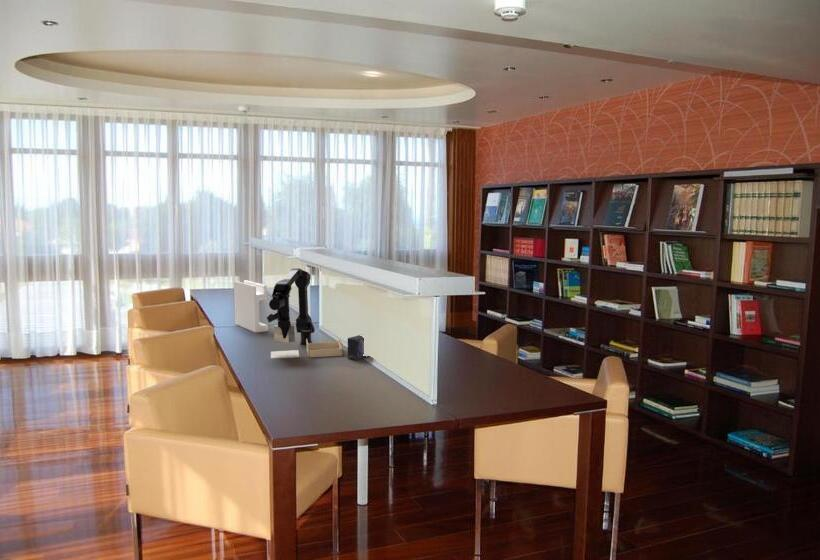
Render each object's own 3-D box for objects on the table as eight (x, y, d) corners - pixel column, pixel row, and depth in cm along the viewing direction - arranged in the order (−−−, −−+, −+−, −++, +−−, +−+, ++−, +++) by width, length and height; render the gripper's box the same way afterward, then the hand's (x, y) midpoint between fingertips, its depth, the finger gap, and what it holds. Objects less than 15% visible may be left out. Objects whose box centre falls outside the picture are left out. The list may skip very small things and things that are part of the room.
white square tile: (270, 352, 329) (270, 351, 329) (298, 351, 332) (298, 350, 332) (270, 358, 315) (270, 357, 315) (299, 357, 318) (299, 356, 318)
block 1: (235, 323, 410) (233, 280, 407) (247, 322, 414) (245, 279, 411) (255, 332, 381) (253, 286, 378) (268, 330, 386) (266, 285, 383)
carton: (306, 349, 334) (306, 338, 333) (339, 348, 338) (339, 336, 337) (308, 357, 317) (307, 345, 317) (343, 355, 321) (342, 343, 320)
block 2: (274, 340, 324) (273, 325, 323) (294, 339, 326) (293, 324, 325) (274, 342, 319) (274, 327, 318) (294, 341, 321) (294, 326, 320)
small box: (356, 360, 310) (356, 339, 309) (347, 358, 314) (346, 338, 313) (371, 356, 319) (370, 335, 317) (361, 354, 322) (360, 334, 321)
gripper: (267, 304, 328) (268, 334, 330) (266, 310, 310) (268, 342, 312) (289, 303, 330) (290, 333, 332) (290, 309, 312) (291, 340, 314)
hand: (284, 337), depth 322 cm, fingers closed on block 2, 5 cm apart
